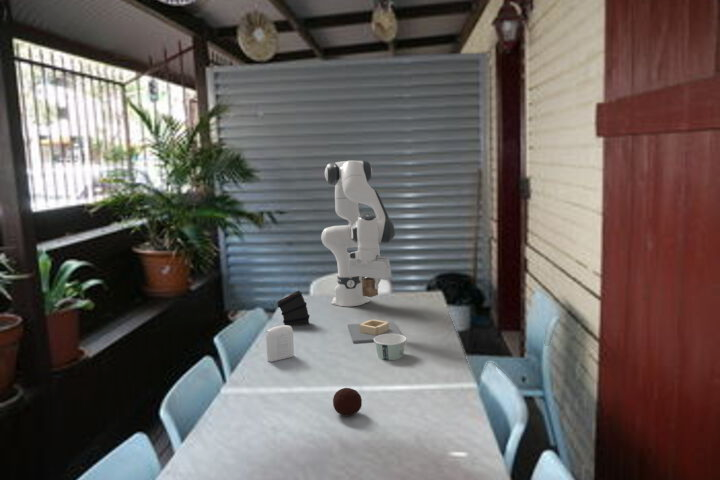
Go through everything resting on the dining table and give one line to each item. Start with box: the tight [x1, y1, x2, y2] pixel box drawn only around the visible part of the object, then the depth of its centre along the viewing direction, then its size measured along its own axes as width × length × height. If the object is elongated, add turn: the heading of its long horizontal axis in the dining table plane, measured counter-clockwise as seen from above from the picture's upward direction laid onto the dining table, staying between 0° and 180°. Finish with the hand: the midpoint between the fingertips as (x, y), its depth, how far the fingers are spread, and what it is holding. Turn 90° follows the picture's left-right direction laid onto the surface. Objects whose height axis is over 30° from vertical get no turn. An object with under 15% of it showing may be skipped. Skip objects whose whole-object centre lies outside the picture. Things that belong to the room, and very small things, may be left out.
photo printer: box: [265, 324, 295, 362], centre depth 216 cm, size 10×4×12 cm, turn 123°
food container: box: [373, 334, 407, 361], centre depth 214 cm, size 12×12×6 cm
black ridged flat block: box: [276, 290, 310, 327], centre depth 258 cm, size 4×13×15 cm, turn 92°
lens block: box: [362, 277, 379, 298], centre depth 239 cm, size 4×4×7 cm
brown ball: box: [332, 387, 363, 417], centre depth 168 cm, size 8×9×8 cm
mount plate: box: [347, 318, 402, 344], centre depth 242 cm, size 22×20×4 cm
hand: (370, 287), depth 239 cm, fingers closed on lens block, 4 cm apart
